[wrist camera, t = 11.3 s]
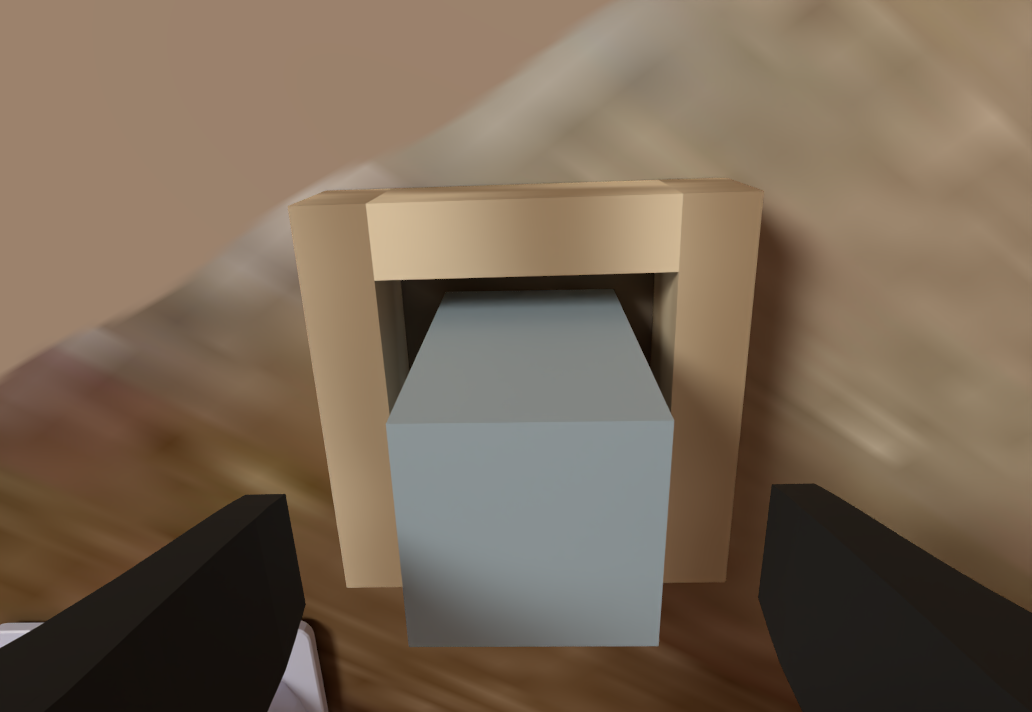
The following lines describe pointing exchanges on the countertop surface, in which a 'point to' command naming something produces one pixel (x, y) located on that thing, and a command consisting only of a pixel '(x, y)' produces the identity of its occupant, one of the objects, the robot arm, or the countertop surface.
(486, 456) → the slate square peg
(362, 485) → the birch well block
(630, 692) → the countertop surface
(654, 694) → the countertop surface
